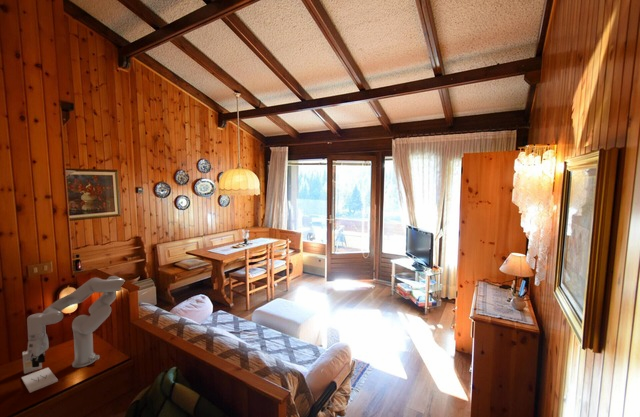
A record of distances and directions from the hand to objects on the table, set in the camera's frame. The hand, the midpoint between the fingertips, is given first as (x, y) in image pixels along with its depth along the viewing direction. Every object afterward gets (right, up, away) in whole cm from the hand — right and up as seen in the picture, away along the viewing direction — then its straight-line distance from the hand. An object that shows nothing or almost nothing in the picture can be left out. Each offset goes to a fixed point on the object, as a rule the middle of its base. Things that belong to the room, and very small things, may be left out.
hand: (38, 364), depth 173 cm
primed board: (0, -10, +1) cm, 10 cm away
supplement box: (-13, -9, +10) cm, 19 cm away
